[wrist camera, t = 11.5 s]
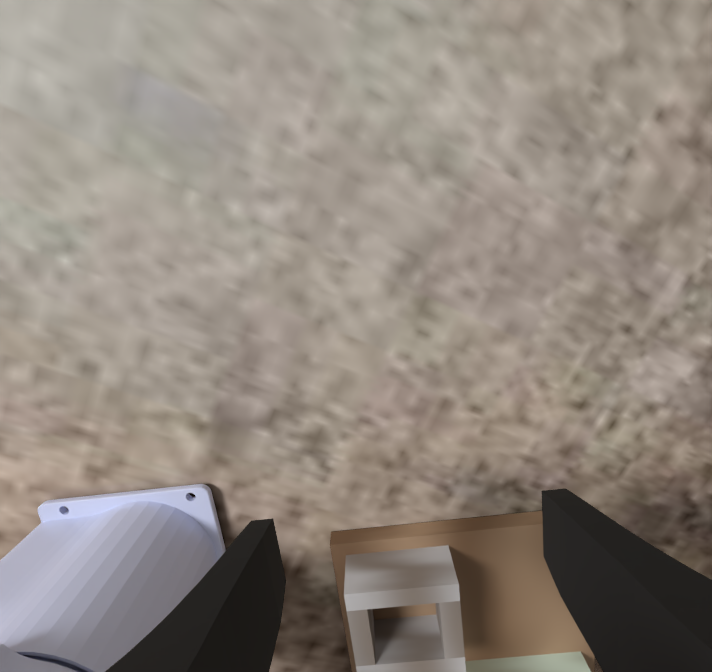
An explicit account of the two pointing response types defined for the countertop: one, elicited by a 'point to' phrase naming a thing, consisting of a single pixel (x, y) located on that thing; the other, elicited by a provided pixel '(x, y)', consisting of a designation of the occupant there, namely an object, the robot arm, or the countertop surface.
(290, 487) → the countertop surface
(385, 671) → the socket board
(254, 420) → the countertop surface
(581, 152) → the countertop surface
